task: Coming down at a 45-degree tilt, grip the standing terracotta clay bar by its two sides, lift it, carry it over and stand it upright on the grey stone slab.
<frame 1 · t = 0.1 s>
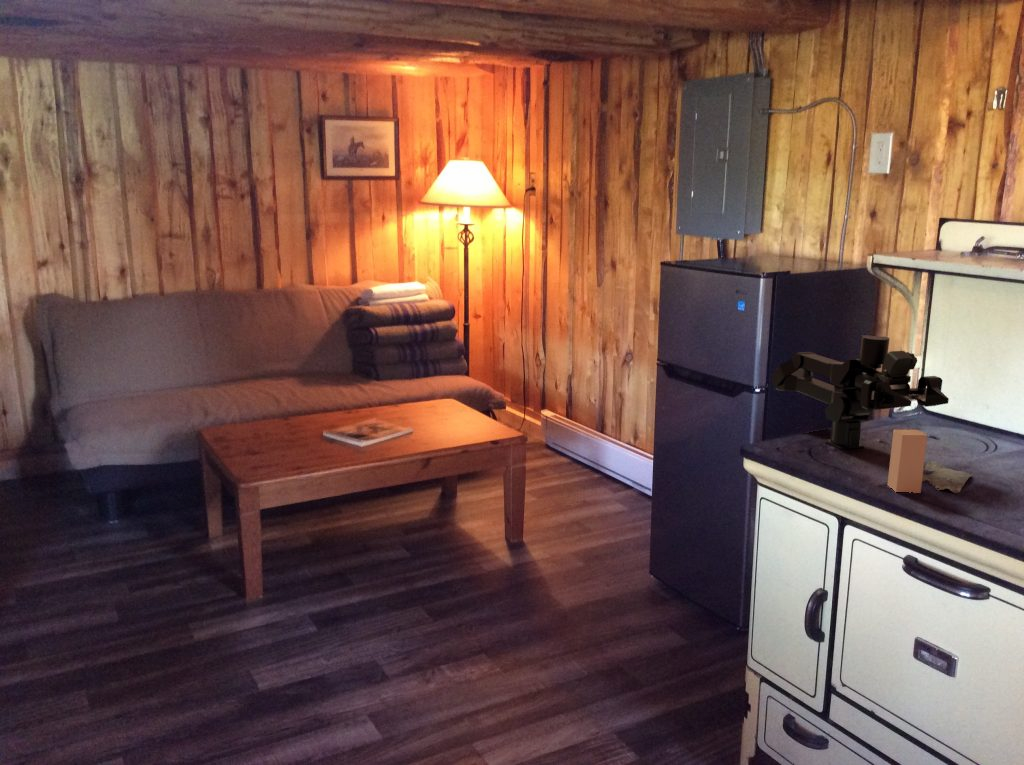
hand: (929, 402, 186), 17 cm above the counter, tool horizontal, fingers open, 9 cm apart
clay bar: (903, 489, 184), on the counter
stone slab: (941, 481, 191), on the counter
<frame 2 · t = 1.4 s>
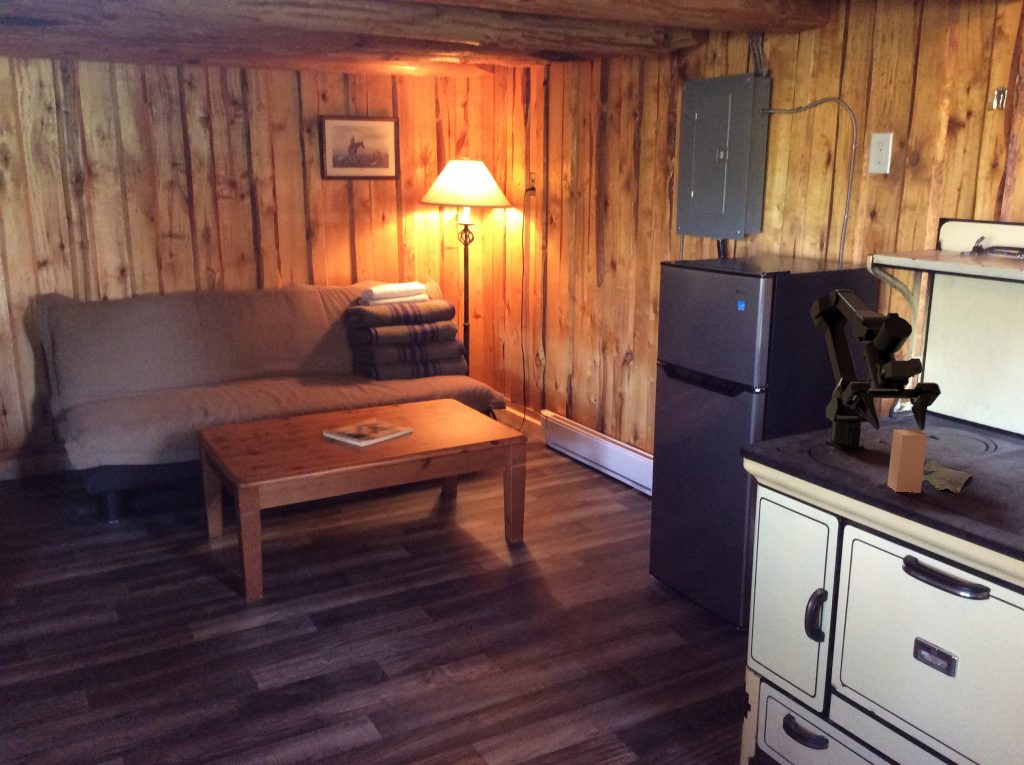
hand: (900, 429, 185), 11 cm above the counter, tool tilted 45°, fingers open, 9 cm apart
nothing on the counter moved.
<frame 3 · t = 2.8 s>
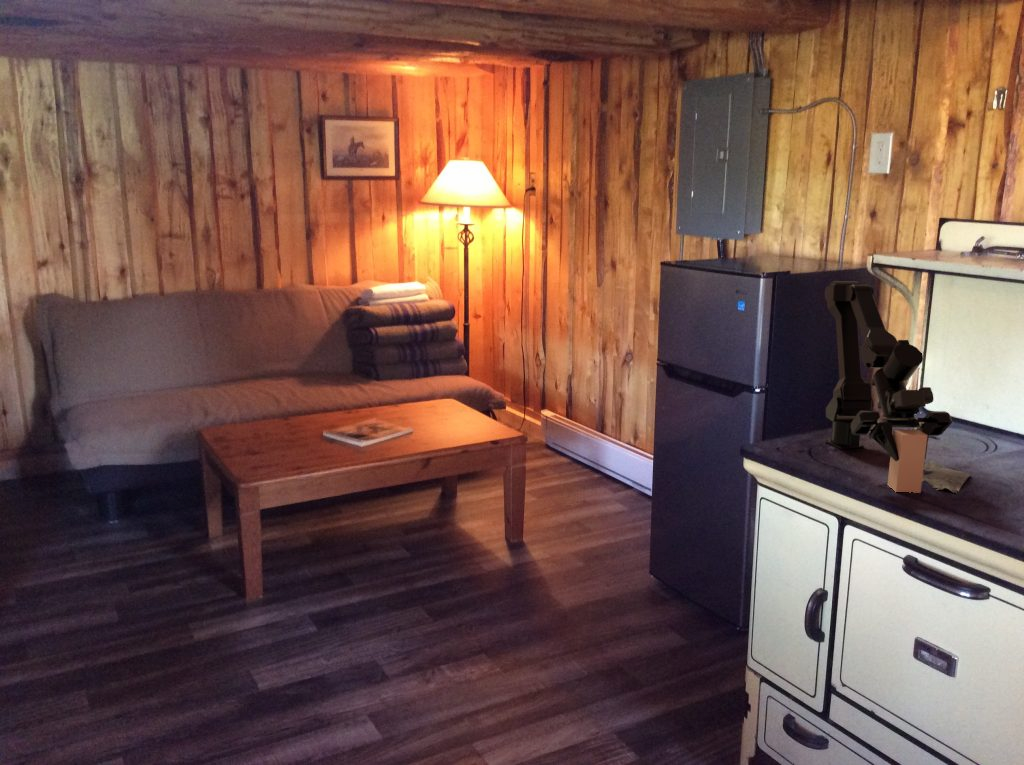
hand: (910, 460, 181), 7 cm above the counter, tool tilted 45°, fingers closed on clay bar, 5 cm apart
clay bar: (903, 489, 184), on the counter, touching gripper
everything else where it was.
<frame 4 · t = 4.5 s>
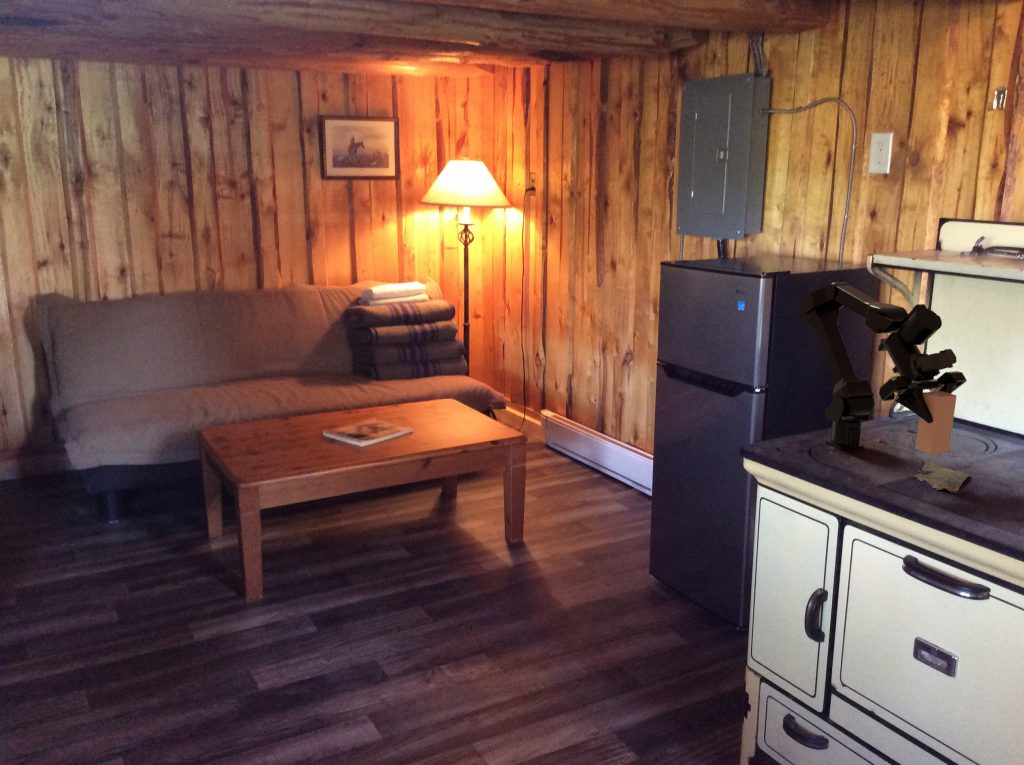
hand: (941, 421, 185), 13 cm above the counter, tool tilted 45°, fingers closed on clay bar, 5 cm apart
clay bar: (931, 450, 188), point 7 cm above the counter, touching gripper
everything else where it was.
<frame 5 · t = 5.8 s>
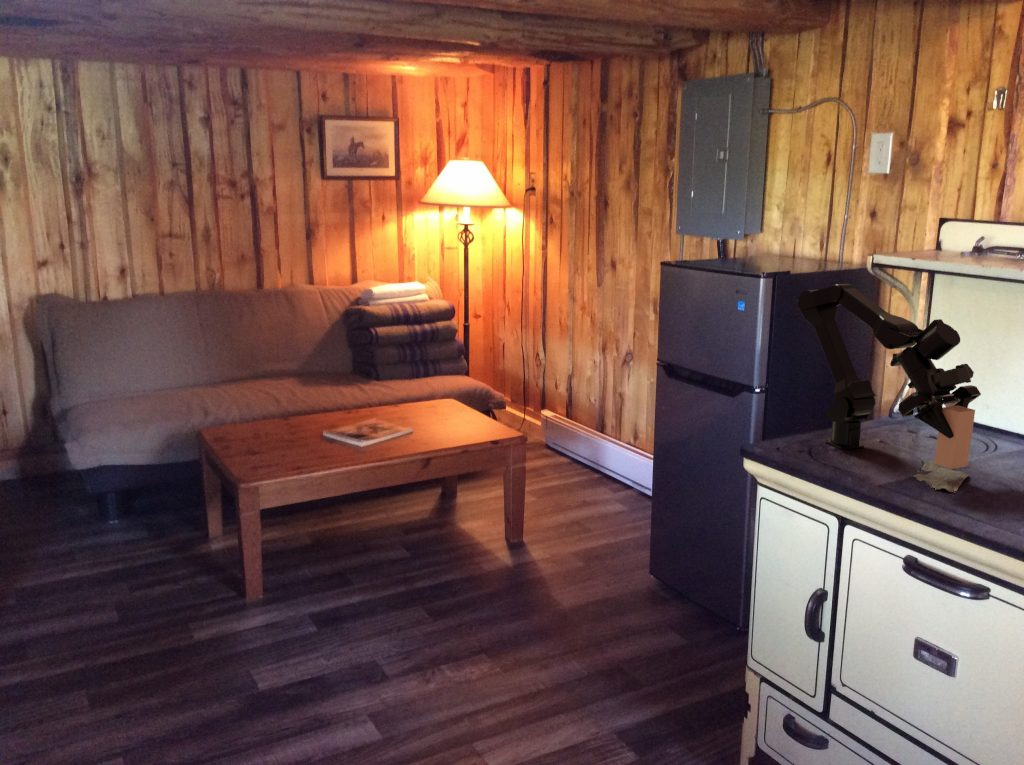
hand: (960, 435, 186), 10 cm above the counter, tool tilted 45°, fingers closed on clay bar, 5 cm apart
clay bar: (950, 464, 188), point 4 cm above the counter, touching gripper
everything else where it was.
when the fingers open (9 cm above the counter, at t = 6.4 s): clay bar drops 2 cm, resting on stone slab.
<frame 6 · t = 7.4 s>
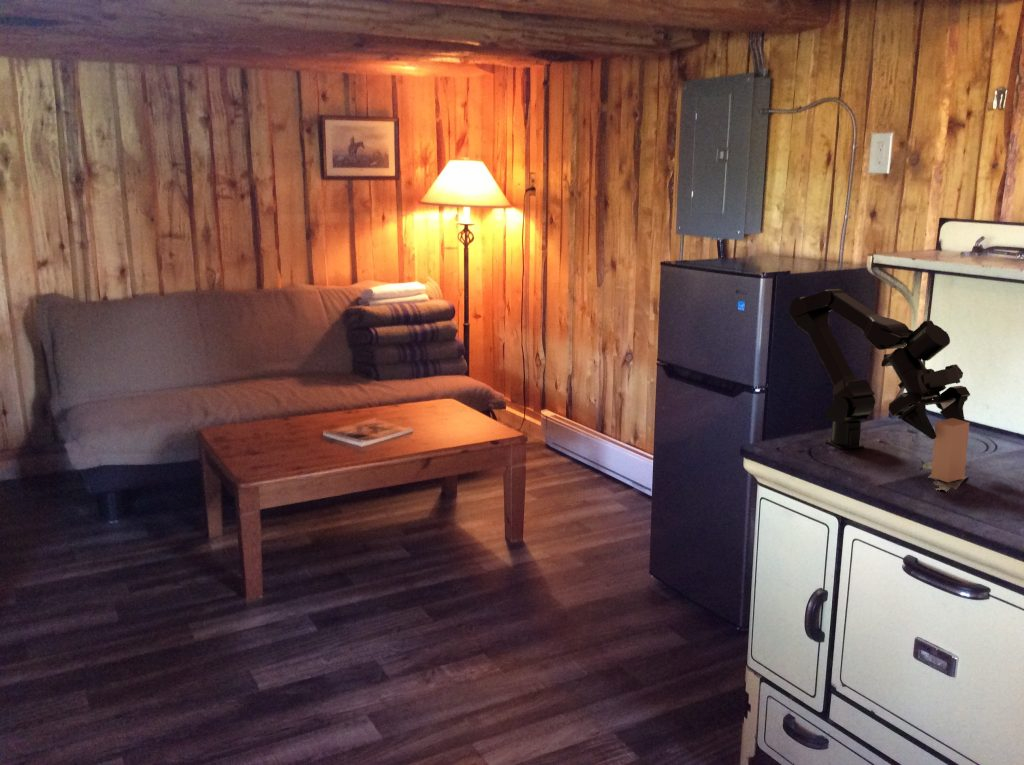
hand: (949, 435, 188), 9 cm above the counter, tool tilted 45°, fingers open, 9 cm apart
clay bar: (947, 477, 189), point 1 cm above the counter, touching stone slab
stone slab: (937, 482, 191), on the counter, touching clay bar
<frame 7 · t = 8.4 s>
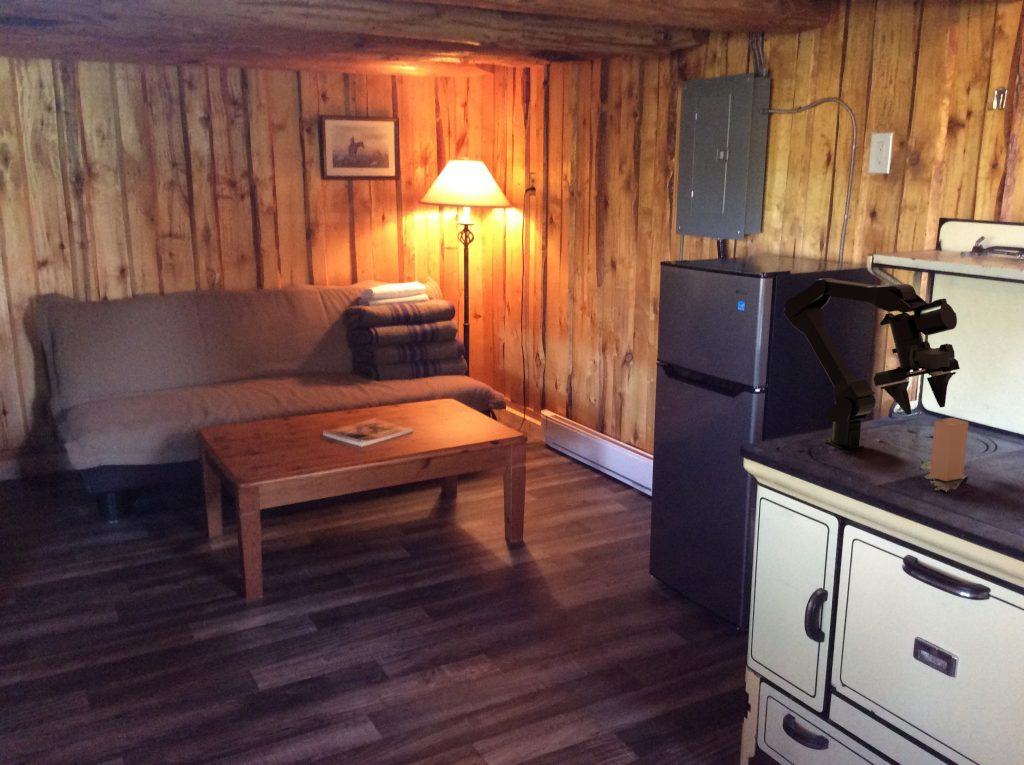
hand: (925, 410, 196), 13 cm above the counter, tool tilted 20°, fingers open, 9 cm apart
nothing on the counter moved.
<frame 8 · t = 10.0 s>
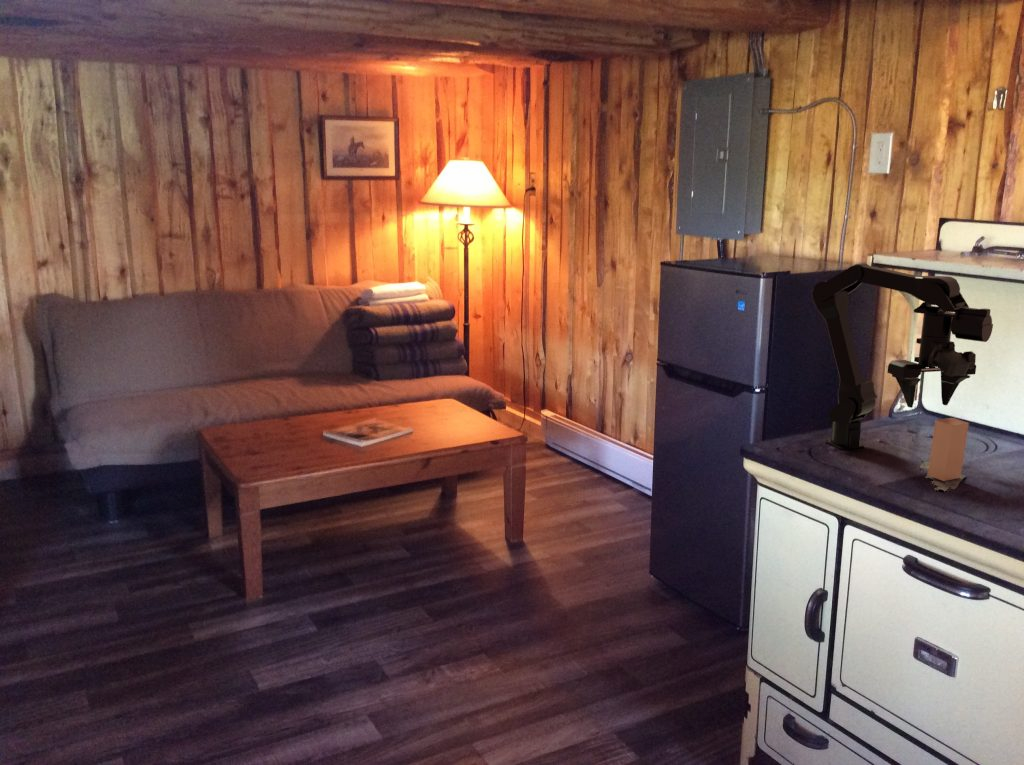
hand: (927, 406, 198), 13 cm above the counter, tool pointing down, fingers open, 9 cm apart
nothing on the counter moved.
at the end: clay bar inside the target area on the stone slab (1.5 cm from its centre), point 1.8 cm above the stone slab's base; clay bar tilted 2°; the gripper is holding nothing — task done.
